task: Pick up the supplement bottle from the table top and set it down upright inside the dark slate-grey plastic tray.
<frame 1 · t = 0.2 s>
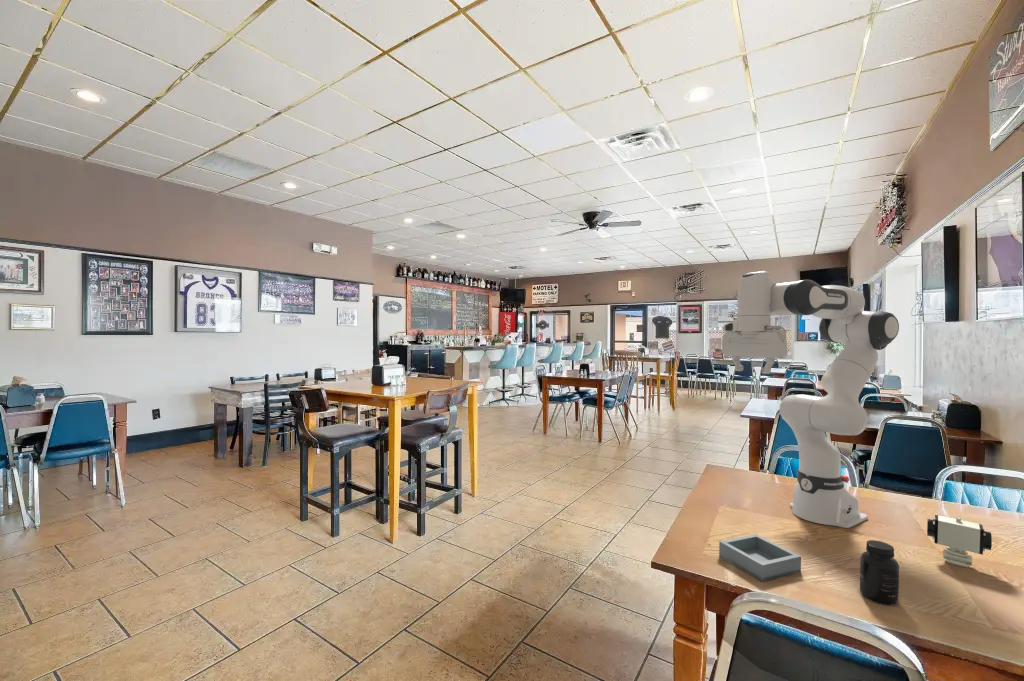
hand: (752, 372, 134), 48 cm above the table, tool pointing down, fingers open, 8 cm apart
pneumatic valve: (957, 563, 117), on the table
tray: (758, 564, 115), on the table
supplement bottle: (878, 598, 101), on the table
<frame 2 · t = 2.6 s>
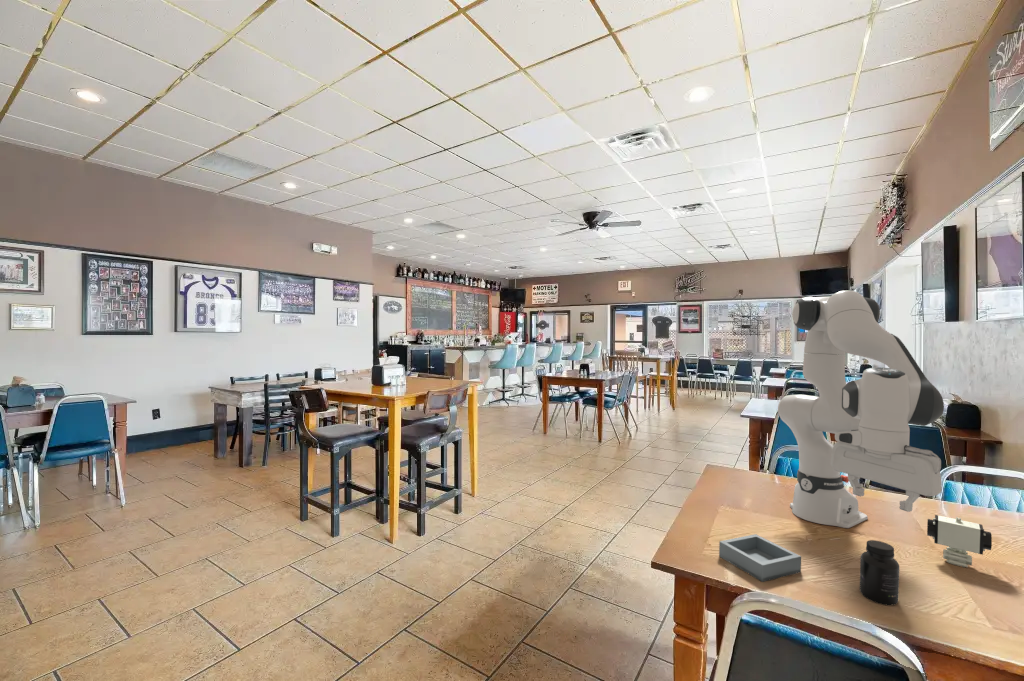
hand: (881, 502, 101), 21 cm above the table, tool pointing down, fingers open, 8 cm apart
nothing on the table moved.
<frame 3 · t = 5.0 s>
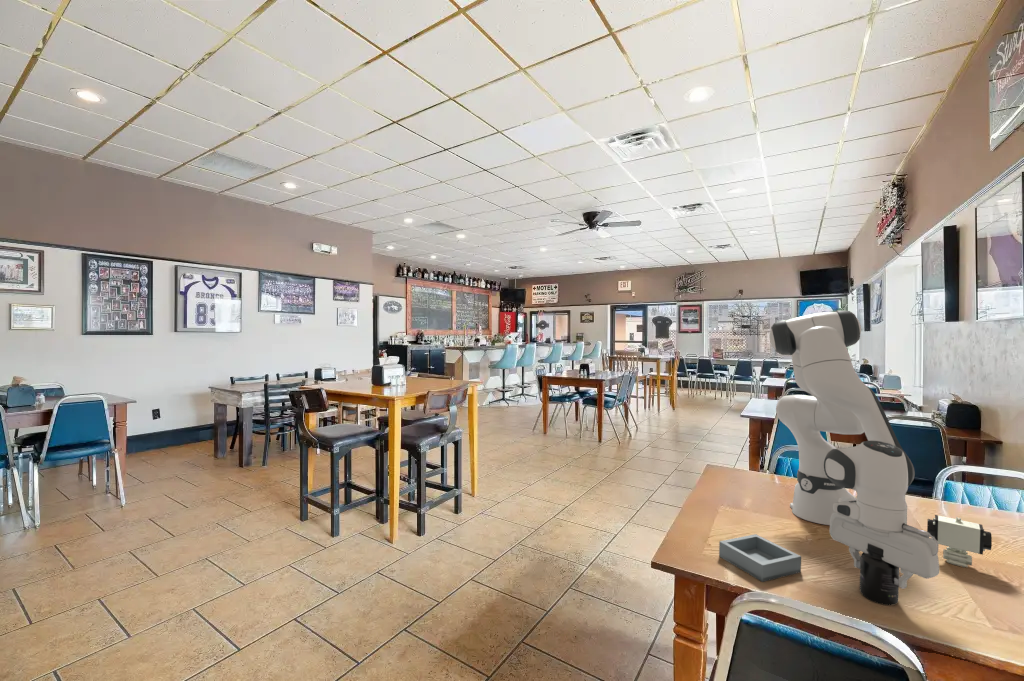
hand: (879, 577, 101), 5 cm above the table, tool pointing down, fingers closed on supplement bottle, 7 cm apart
supplement bottle: (878, 598, 101), on the table, touching gripper
everything else where it was.
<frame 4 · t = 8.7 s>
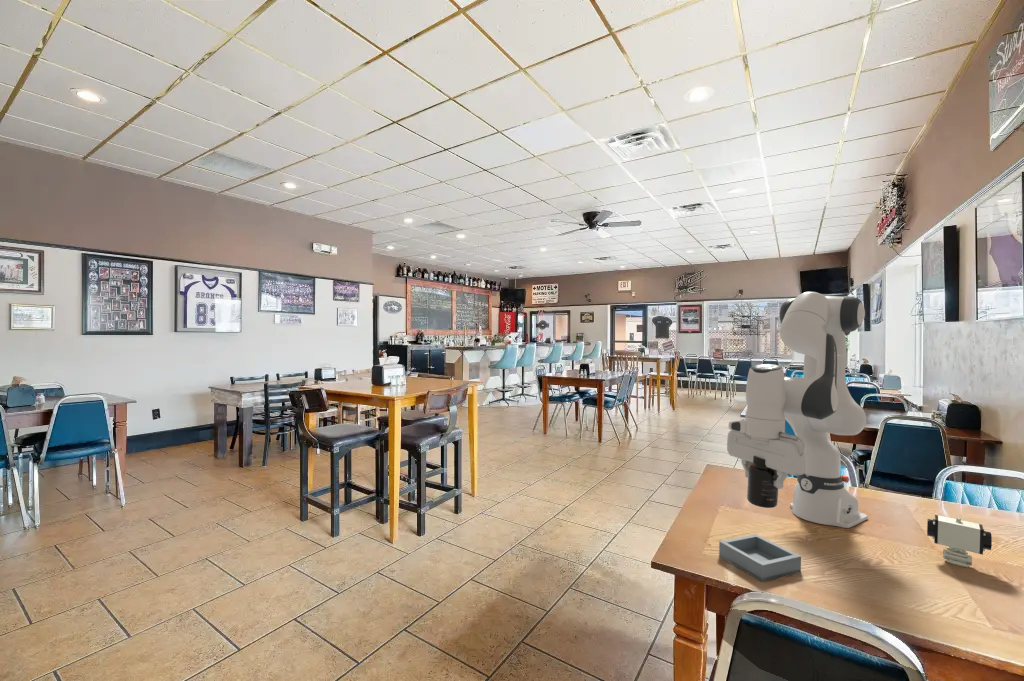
hand: (763, 482, 114), 21 cm above the table, tool pointing down, fingers closed on supplement bottle, 7 cm apart
supplement bottle: (761, 503, 115), point 16 cm above the table, touching gripper
everything else where it was.
when the fingers open (7 cm above the table, at t = 12.4 s): supplement bottle drops 1 cm, resting on tray.
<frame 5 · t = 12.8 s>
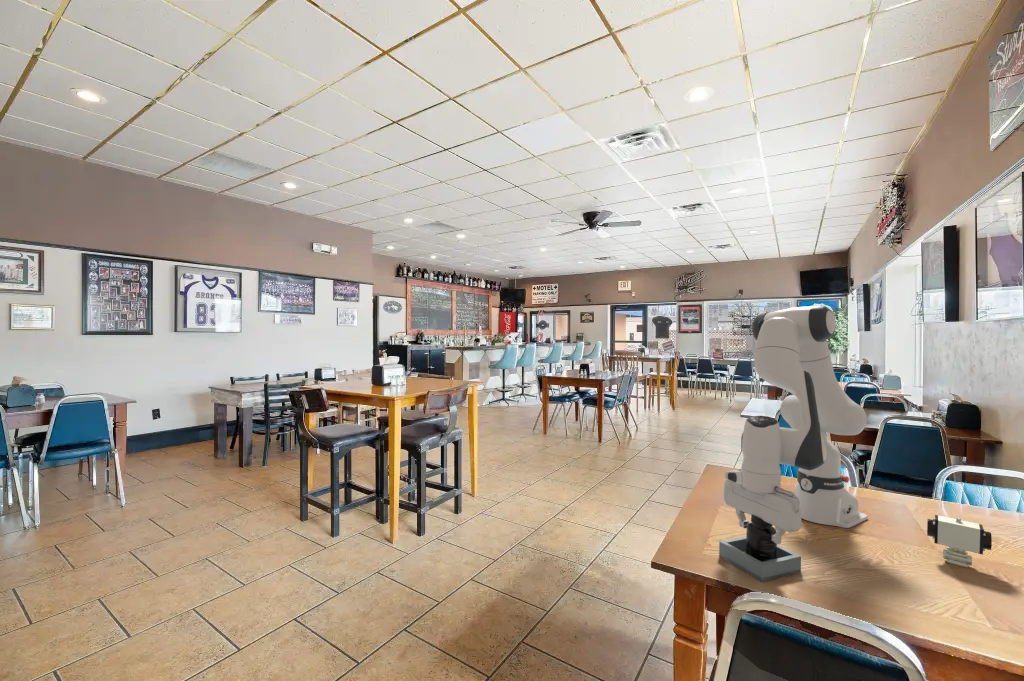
hand: (759, 534, 115), 8 cm above the table, tool pointing down, fingers open, 8 cm apart
supplement bottle: (760, 562, 115), point 1 cm above the table, touching gripper, tray
everything else where it was.
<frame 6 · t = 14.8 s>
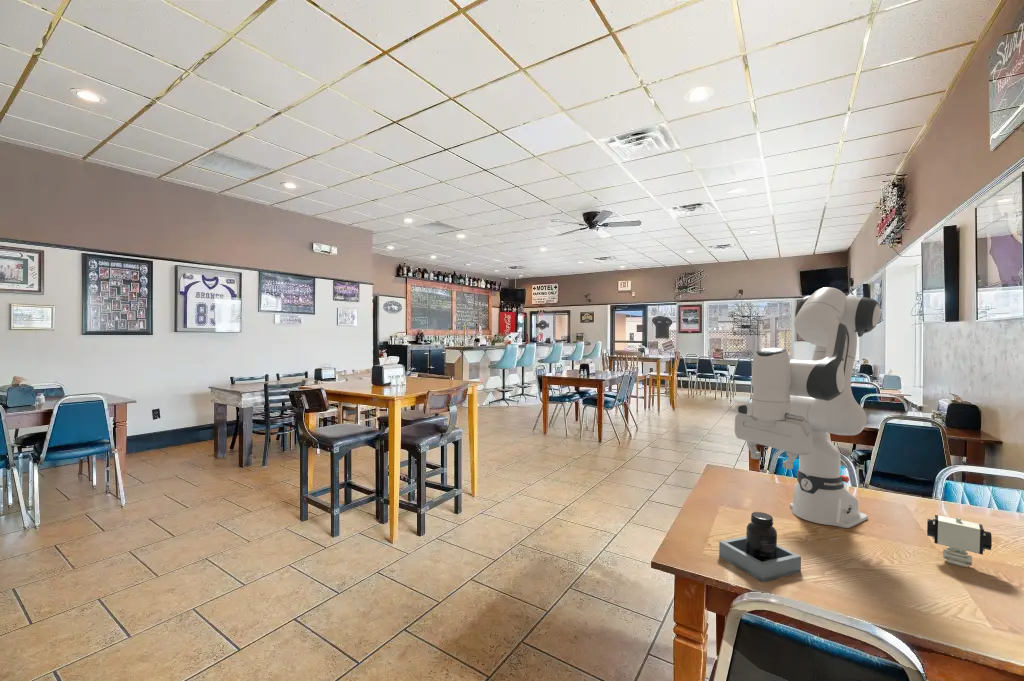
hand: (771, 463, 117), 25 cm above the table, tool pointing down, fingers open, 8 cm apart
supplement bottle: (760, 562, 115), point 1 cm above the table, touching tray
everything else where it was.
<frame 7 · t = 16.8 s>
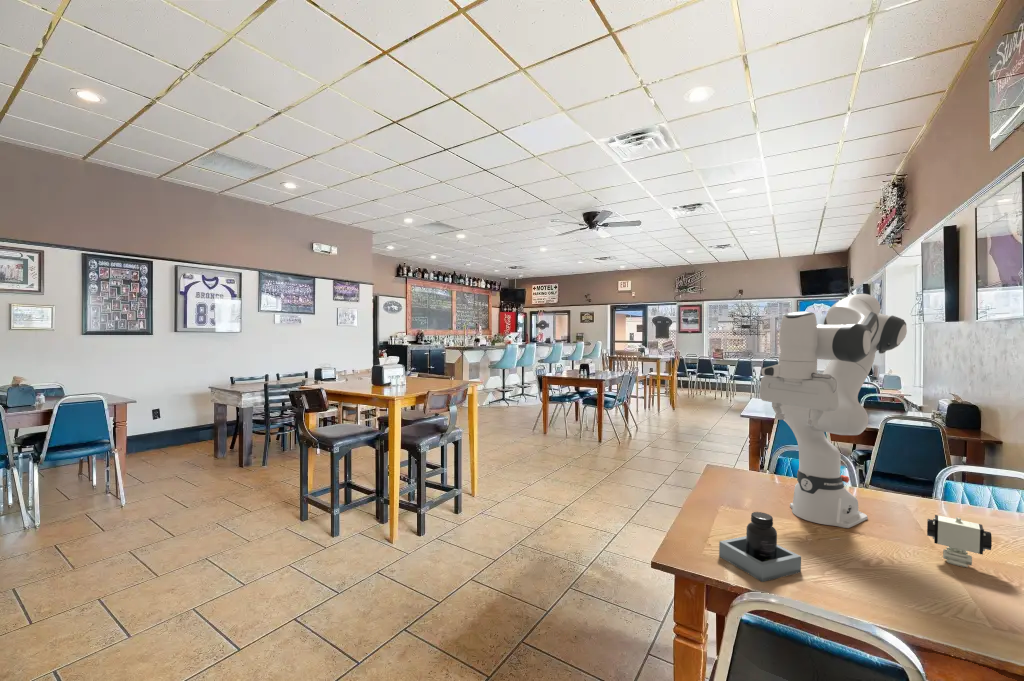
hand: (795, 422, 122), 35 cm above the table, tool pointing down, fingers open, 8 cm apart
nothing on the table moved.
at the end: supplement bottle inside the target area on the tray (0.6 cm from its centre), point 0.6 cm above the tray's base; supplement bottle tilted 0°; the gripper is holding nothing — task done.
